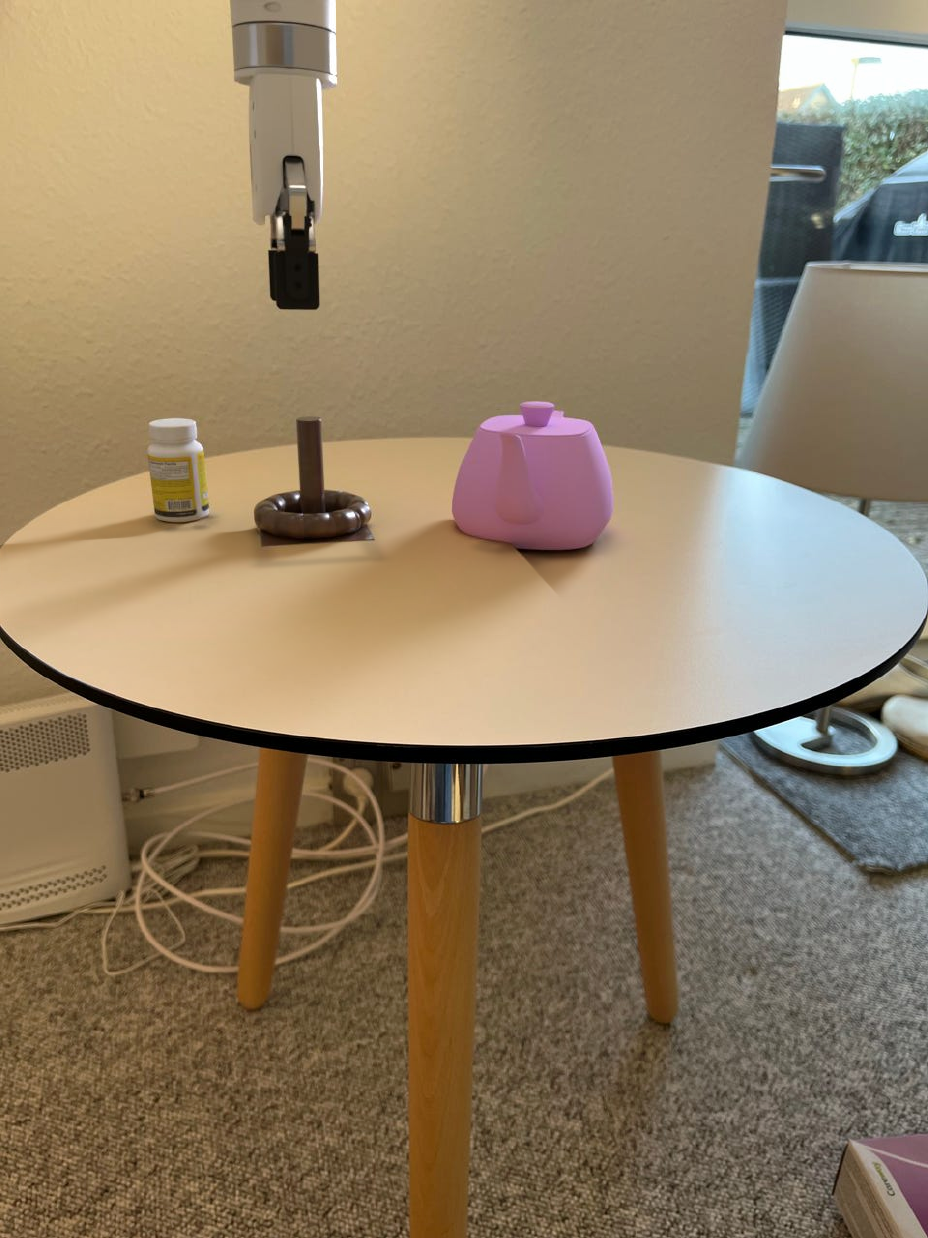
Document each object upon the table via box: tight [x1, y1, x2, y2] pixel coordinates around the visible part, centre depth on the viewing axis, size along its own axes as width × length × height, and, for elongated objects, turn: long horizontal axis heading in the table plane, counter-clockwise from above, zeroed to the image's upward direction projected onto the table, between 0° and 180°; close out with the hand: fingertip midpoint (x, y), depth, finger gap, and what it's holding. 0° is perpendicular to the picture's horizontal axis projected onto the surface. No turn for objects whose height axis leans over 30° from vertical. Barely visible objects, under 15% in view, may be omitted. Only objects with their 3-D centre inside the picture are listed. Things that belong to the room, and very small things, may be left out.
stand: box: [257, 415, 376, 548], centre depth 80 cm, size 9×9×10 cm
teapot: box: [451, 400, 614, 551], centre depth 81 cm, size 13×20×11 cm
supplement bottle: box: [146, 417, 210, 523], centre depth 86 cm, size 5×5×8 cm
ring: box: [253, 489, 373, 539], centre depth 82 cm, size 10×10×2 cm
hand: (293, 304), depth 79 cm, fingers open, 9 cm apart
